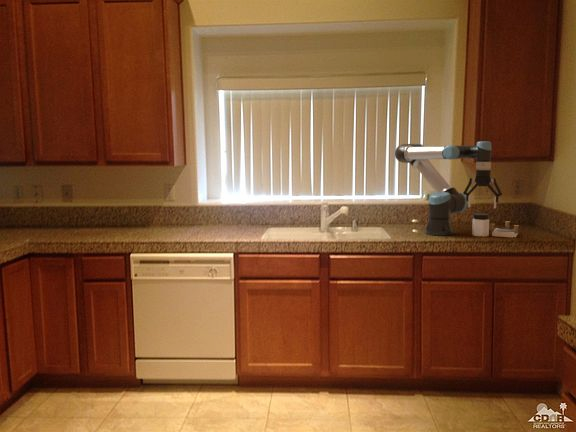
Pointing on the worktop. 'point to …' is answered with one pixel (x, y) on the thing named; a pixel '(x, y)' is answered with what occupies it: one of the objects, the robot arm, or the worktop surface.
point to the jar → (480, 224)
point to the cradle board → (504, 231)
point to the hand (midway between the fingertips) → (481, 207)
